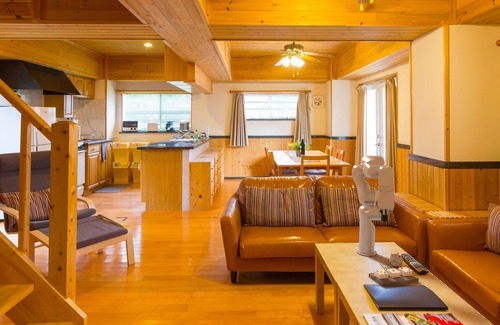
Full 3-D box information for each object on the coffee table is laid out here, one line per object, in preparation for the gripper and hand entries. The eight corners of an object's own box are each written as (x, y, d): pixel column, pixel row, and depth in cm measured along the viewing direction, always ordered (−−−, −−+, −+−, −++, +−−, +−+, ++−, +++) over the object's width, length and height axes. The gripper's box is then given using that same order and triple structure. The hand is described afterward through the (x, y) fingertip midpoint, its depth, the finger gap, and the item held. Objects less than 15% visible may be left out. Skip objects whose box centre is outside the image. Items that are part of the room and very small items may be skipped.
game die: (398, 273, 197) (407, 264, 190) (384, 267, 198) (392, 258, 192) (399, 261, 204) (407, 252, 197) (385, 255, 205) (393, 246, 198)
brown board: (368, 277, 184) (368, 273, 184) (403, 273, 189) (403, 269, 189) (382, 286, 172) (382, 283, 172) (418, 282, 177) (418, 278, 177)
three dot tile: (374, 275, 180) (374, 270, 180) (382, 274, 182) (382, 269, 181) (379, 279, 175) (379, 274, 175) (388, 278, 177) (388, 273, 176)
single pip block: (386, 273, 182) (386, 269, 182) (394, 272, 183) (394, 268, 183) (392, 277, 177) (392, 272, 177) (400, 276, 178) (400, 271, 178)
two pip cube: (398, 272, 184) (398, 267, 184) (406, 271, 185) (406, 266, 185) (404, 276, 179) (404, 271, 179) (412, 275, 180) (412, 270, 180)
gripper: (392, 187, 192) (391, 218, 194) (369, 188, 189) (368, 220, 191) (401, 189, 185) (400, 222, 187) (377, 190, 182) (376, 223, 183)
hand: (384, 221), depth 189 cm, fingers closed
